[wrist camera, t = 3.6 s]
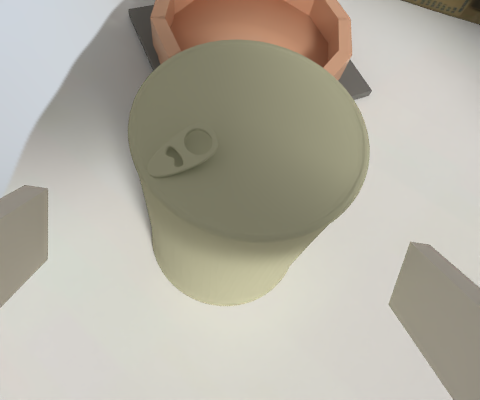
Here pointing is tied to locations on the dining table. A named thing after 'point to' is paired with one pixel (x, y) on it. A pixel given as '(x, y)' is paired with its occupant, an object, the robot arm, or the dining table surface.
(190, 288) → the can
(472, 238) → the dining table surface
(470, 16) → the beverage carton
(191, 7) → the bowl
